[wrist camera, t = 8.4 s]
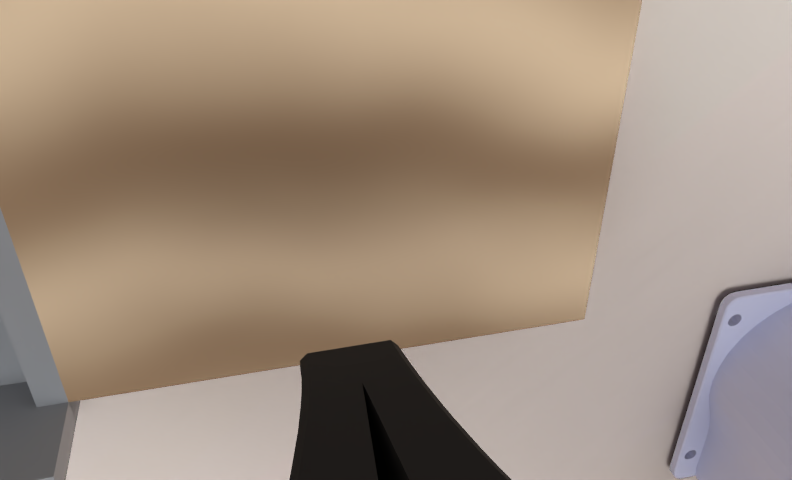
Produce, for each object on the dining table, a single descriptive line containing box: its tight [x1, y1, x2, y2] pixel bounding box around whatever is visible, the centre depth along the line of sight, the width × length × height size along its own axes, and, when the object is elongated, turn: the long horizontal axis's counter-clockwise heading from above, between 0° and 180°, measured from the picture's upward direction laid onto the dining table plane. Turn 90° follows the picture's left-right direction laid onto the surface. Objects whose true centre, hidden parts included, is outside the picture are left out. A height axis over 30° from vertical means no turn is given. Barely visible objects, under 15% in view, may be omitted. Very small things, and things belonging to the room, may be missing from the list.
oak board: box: [0, 0, 642, 402], centre depth 18 cm, size 12×15×2 cm
